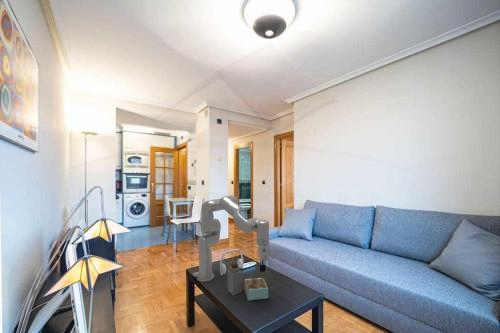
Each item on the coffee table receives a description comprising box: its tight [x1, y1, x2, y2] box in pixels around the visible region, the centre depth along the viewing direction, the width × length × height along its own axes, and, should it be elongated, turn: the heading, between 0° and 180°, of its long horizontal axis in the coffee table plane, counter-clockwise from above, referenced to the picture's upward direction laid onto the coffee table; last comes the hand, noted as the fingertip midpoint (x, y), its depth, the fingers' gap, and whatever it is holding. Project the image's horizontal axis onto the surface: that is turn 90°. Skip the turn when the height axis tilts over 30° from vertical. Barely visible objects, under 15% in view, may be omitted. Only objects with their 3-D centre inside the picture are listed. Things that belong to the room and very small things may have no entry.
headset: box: [219, 248, 244, 276], centre depth 169 cm, size 20×7×18 cm, turn 124°
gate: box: [246, 287, 269, 301], centre depth 133 cm, size 13×1×6 cm, turn 100°
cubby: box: [243, 277, 269, 299], centre depth 140 cm, size 13×12×7 cm
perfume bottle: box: [227, 262, 243, 296], centre depth 143 cm, size 7×7×18 cm
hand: (262, 271), depth 132 cm, fingers closed
